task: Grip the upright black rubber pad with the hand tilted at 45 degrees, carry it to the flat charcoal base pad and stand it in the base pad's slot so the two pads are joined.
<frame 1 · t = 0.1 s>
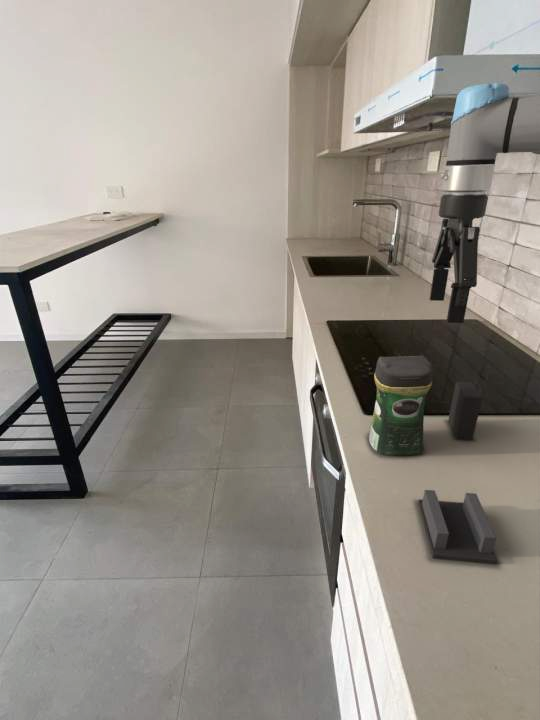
hand: (444, 310, 78), 23 cm above the worktop, tool pointing down, fingers open, 13 cm apart
base pad: (452, 533, 57), on the worktop
black pad: (459, 432, 79), on the worktop
coffee jar: (393, 446, 76), on the worktop
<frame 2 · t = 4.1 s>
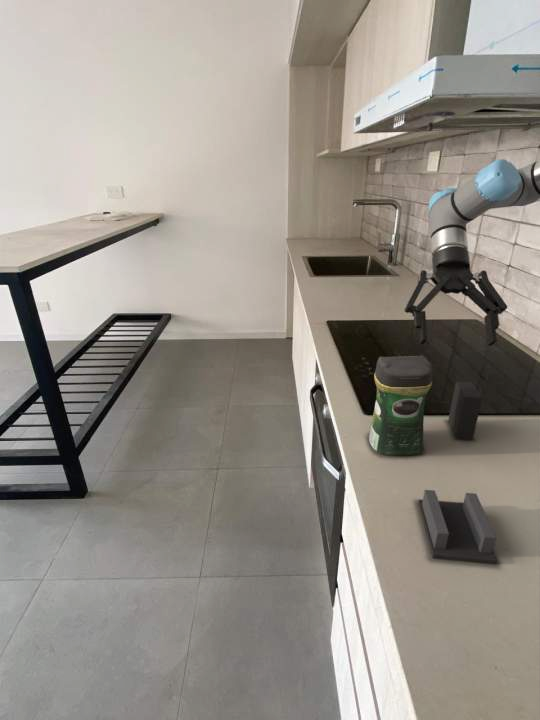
hand: (457, 343, 82), 15 cm above the worktop, tool tilted 45°, fingers open, 13 cm apart
nothing on the worktop moved.
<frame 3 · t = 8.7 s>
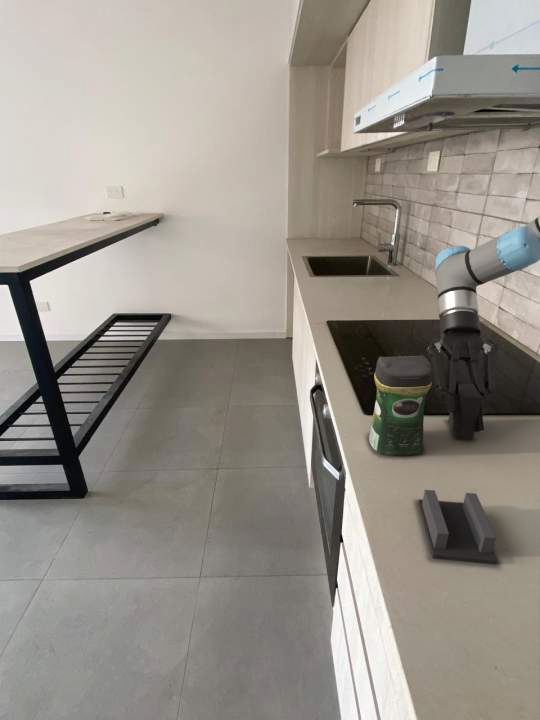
hand: (468, 429, 74), 3 cm above the worktop, tool tilted 45°, fingers closed on black pad, 3 cm apart
black pad: (459, 432, 79), on the worktop, touching gripper
everything else where it was.
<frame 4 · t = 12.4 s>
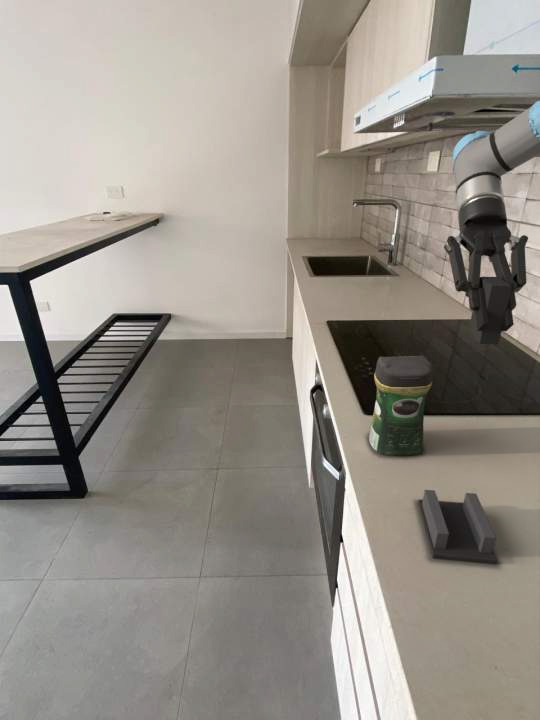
hand: (495, 327, 64), 24 cm above the worktop, tool tilted 45°, fingers closed on black pad, 3 cm apart
black pad: (482, 337, 69), point 21 cm above the worktop, touching gripper
everything else where it was.
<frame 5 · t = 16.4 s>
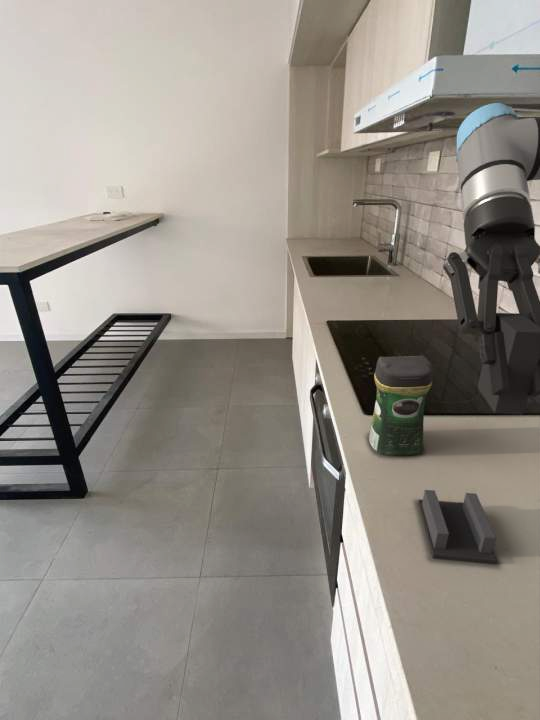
hand: (519, 392, 43), 26 cm above the worktop, tool tilted 45°, fingers closed on black pad, 3 cm apart
black pad: (498, 400, 48), point 23 cm above the worktop, touching gripper
everything else where it was.
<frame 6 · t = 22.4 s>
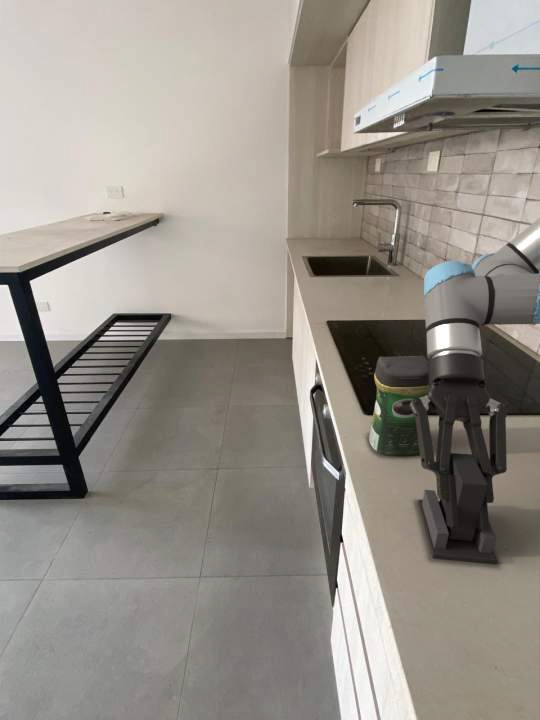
hand: (467, 527, 52), 5 cm above the worktop, tool tilted 45°, fingers closed on black pad, 3 cm apart
black pad: (454, 522, 57), point 2 cm above the worktop, touching gripper
everything else where it was.
when the fingers open (6 cm above the worktop, at t = 24.1 s): black pad drops 1 cm, resting on base pad.
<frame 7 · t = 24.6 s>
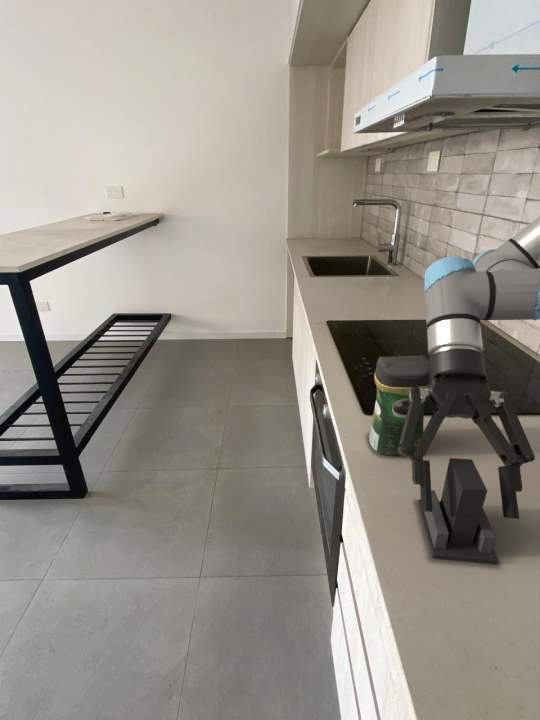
hand: (468, 514, 52), 7 cm above the worktop, tool tilted 45°, fingers open, 10 cm apart
black pad: (454, 527, 57), point 1 cm above the worktop, touching base pad
everything else where it was.
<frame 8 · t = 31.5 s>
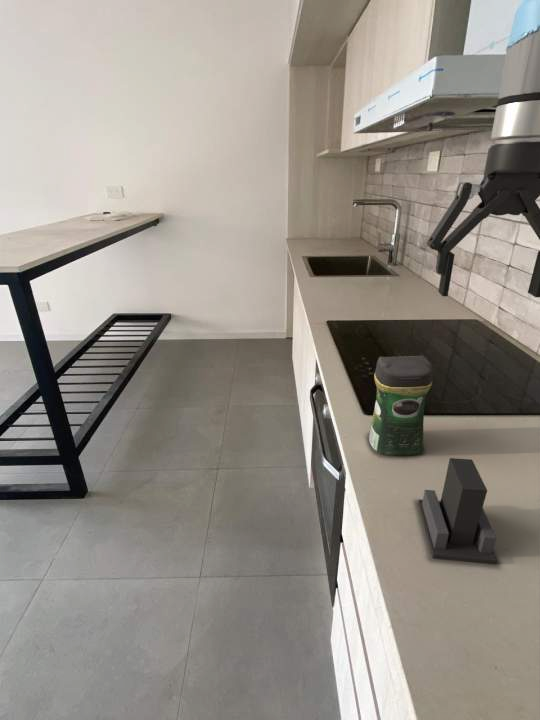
hand: (487, 294, 63), 30 cm above the worktop, tool pointing down, fingers open, 13 cm apart
nothing on the worktop moved.
at the end: black pad 0.1 cm off-centre on the base pad, point 1.2 cm above the base pad's base; black pad tilted 0°; the gripper is holding nothing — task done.
